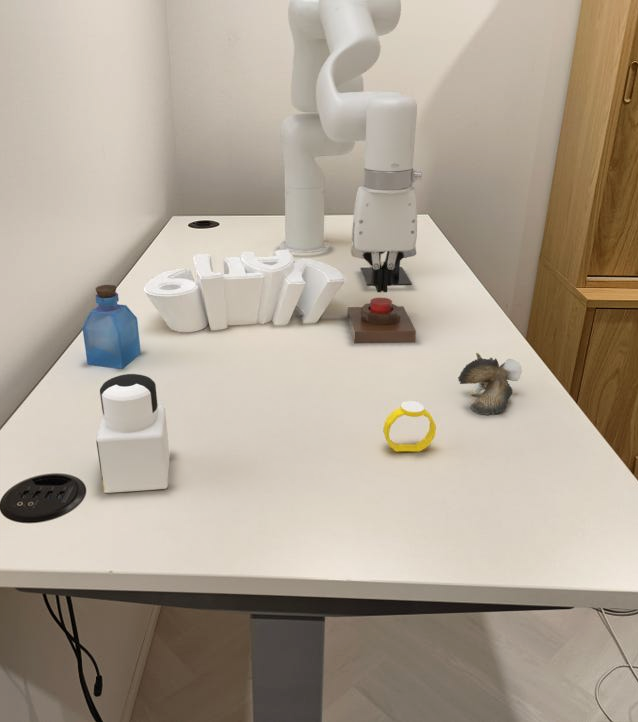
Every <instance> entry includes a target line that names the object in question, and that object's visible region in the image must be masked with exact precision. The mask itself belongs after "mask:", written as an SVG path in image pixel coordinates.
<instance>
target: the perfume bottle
mask: <svg viewBox="0 0 638 722" xmlns="http://www.w3.org/2000/svg"><path fill="white" fill-rule="evenodd" d="M116 291H117V286H116V284H115V285H114V284H102V285H98V286H96V287H95V292H96V295H95V303H96V304H97V307H95V308H93V309H92V310H90V311H89V313H88V315H87V318H86V320H85V322H84V324H83V326H82V328H81V329H82V334H83V341H84V349H85V356H86V363H87V365H89V366H96V367H97V366H98V367H103V368H104V367H105V368H111V369H119V370H123V369H124V368H125V367H126V366H128V365H129V364H130V363H131V362H132V361H134V360H135V359H136V358H138V357H139V356H140V355H141V354H142V352H141V351H142V350H141V342H140V332H139V323H138V317H137V316H136V315H135V314H134V313H133V312H132V310H131V309H130V308H129V307H128V306H127V304H118V302H119V300H120V298H119V294H118V292H116Z"/></svg>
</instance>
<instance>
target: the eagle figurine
mask: <svg viewBox="0 0 638 722" xmlns="http://www.w3.org/2000/svg"><path fill="white" fill-rule="evenodd" d="M475 356H476V359H474V360H472V361H471V362H469V363H467V364H466V365H465V367H463V369H462V371H461V372H460V374H459V376H458V377H457V380H458V382H459V384H460V385H468V384H471V385H472V384H473V385H475V384H476V385H475V387H473V388H472V391H471V393H470V396H473V395H477V394H479V393H481V392H482V391H483V392H482V393H481V394H480V396H479V397H477V399H476V400H475V401H474V402H472V403H471V405H470V406H469V407H470V408H471V410H472V411H473V412H475V414H476V415H477V414H478V415H487V416H488V415H490V414H492V415H495V414H498V413H500V412H502V411H504V410H505V408H506V407H507V405H508V403H509V400H510V398H511V397H513V389H512V386H511V385H510V383H509V381H511V382H518V381H519V380H520V378H521V376H522V373H523V370H522V365H521V364H520V363H519V362H518V361H516V360H515V359H513V358H508V359H506V361H505V362H503V363H501V364H499V361H498V359H497V358H496V357H495V358H493V357H489V358H483V357H482V356H481V354H480V353H479V352H476V353H475Z"/></svg>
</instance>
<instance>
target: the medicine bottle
mask: <svg viewBox="0 0 638 722" xmlns="http://www.w3.org/2000/svg"><path fill="white" fill-rule="evenodd" d="M99 397H100V403H101V411H102V415H101V420H100V423H99V427H98V431H97V435H96V439H95V442H96V448H97V455H98V456H97V457H98V463H99V469H100V476H101V477H100V478H101V484H102V490H103V492H104V493H105V494H110V493H111V494H112V493H125V492H139V491H153V490H165V489H167V488H168V485H169V472H170V471H169V469H170V444H169V433H168V425H167V414H166V406H165V405H163V404H158V395H157V385H156V382H155V380H153V379H152V378H151V377H149V376H147V375H143V374H137V373H126V374H125V373H124V374H121V375H118V376H114V377H111V378H110V379H107V380H106V381H105V382H103V384H102V385H101V386H100V388H99Z"/></svg>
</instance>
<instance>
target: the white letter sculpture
mask: <svg viewBox="0 0 638 722" xmlns="http://www.w3.org/2000/svg"><path fill="white" fill-rule="evenodd" d="M192 259H193V263H194V269H195V273H196V281H195V279H194V276H193V274H192V270H191V269H187V268H177V269H169V270H166V271H164V272H161V273H159V274H157V275H155V276H154V277H152V278H151V279H149V280H148V281H147V283H146V284H145V285H144V287H143V292H144V293H145V294H146V296H147V297H148V299H149V300H150V302H151V303H152V305H153V306H154V308H155V309H156V311H157V312H158V313H159V315H160V317H161V318H162V319H163V321H164V322H165V323H166V325H167V326H168V328H169V329H170V330H172V331H174V332H178V333H194V332H199V331H201V330H203V329H205V328H207V327H208V326H209V330H210V331H211V332H212V331H221V330H226V329H228V326H247V325H256V324H261V325H265V324H266V323H269V322H271V321H272V323H273V324H274V326H287V325H289V323H290V321H291V318H292V316H293V313H294V312H295V309H296V307H297V308H298V309H300V310H301V312H302V313H303V314H300V317H301V319H302V324H317V322H318V321H319V320H320V318H321V316H322V315H323V314H324V313H325V311H326V309H328V307H329V305H330V304H331V302H332V301H333V299H334V298H335V297H336V295H337V293H338V292H339V291H340V290H341V288H342V286H343V285H344V283H345V282H346V277H345V275H344V274H343V273H342V272H341V270H339V269H338V268H336V267H334V266H332V265H330V264H328V263H325V262H324V261H323V262H322V261H320V260H315V259H311V258H307V257H303V258H301V259H298V260H296V261H295V260H294V255H293V252H289V251H288V250H279V249H276V250H275V251H273V253H272V256H256V252H254V251H243V252H241V254H240V257H238V256H230V257H225V258H223V259H222V260H223V261H222V262H223V273H222V272H214V269H213V262H212V255H211V254H210V253H197V254H194V255H193V256H192Z"/></svg>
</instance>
